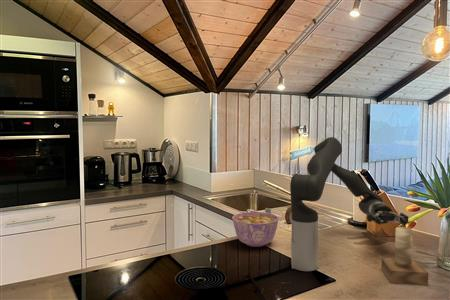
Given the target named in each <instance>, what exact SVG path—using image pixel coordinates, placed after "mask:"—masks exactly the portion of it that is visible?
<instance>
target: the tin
mask: <svg viewBox="0 0 450 300" xmlns="http://www.w3.org/2000/svg"><path fill="white" fill-rule="evenodd" d="M284 221H285V222H286V223H288V224H292V214H291V206H289V207H287V209H286V210H285V213H284Z"/></svg>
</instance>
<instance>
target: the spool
mask: <svg viewBox="0 0 450 300" xmlns="http://www.w3.org/2000/svg"><path fill="white" fill-rule="evenodd" d="M413 233H414V230H413V229H412V228H409V227H405V226H397V227H395V236H394V237H395V242H394V243H395V245H394V259H395V265H397V266H399V267H403V268H410V267H412V259H413Z"/></svg>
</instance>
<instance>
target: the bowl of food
mask: <svg viewBox="0 0 450 300" xmlns="http://www.w3.org/2000/svg"><path fill="white" fill-rule="evenodd" d="M231 218H232V222H233V227H234V229H235V234H236V237H237V239H238V240H239V241H240V242H241V243H243V244H245V245H247V246H248V247H253V248H260V247H263V246H265V245H268V244H269V243H270V242H272V241H273V239H274V238H275V236H276V232H277V228H278V223H279V219H280V218H279V216H278V215H276V214H274V213H271V214H270V213H265V211H246V212H244V211H243V212H240V213H237V214H234V215H233V216H232V217H231Z"/></svg>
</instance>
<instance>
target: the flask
mask: <svg viewBox="0 0 450 300" xmlns="http://www.w3.org/2000/svg"><path fill="white" fill-rule="evenodd" d="M264 210H265V211H264V212H265V213H270V214H272V208H269V207H266V208H264Z"/></svg>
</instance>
